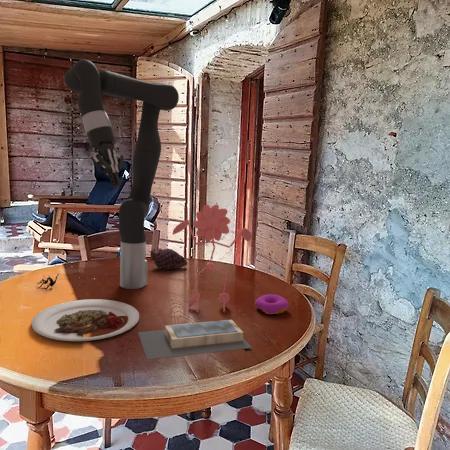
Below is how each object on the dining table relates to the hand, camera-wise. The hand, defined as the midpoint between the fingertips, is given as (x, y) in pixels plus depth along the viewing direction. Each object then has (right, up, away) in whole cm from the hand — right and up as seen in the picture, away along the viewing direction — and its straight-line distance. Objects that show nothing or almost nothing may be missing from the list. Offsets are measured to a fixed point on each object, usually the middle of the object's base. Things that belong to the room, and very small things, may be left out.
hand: (117, 186), depth 123 cm
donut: (+47, -41, +19) cm, 65 cm away
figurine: (+25, -39, +20) cm, 51 cm away
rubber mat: (+23, -44, -8) cm, 50 cm away
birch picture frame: (+16, -42, -9) cm, 46 cm away
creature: (-33, -34, +29) cm, 56 cm away
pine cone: (+7, -31, +61) cm, 69 cm away
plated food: (-9, -41, +1) cm, 42 cm away
